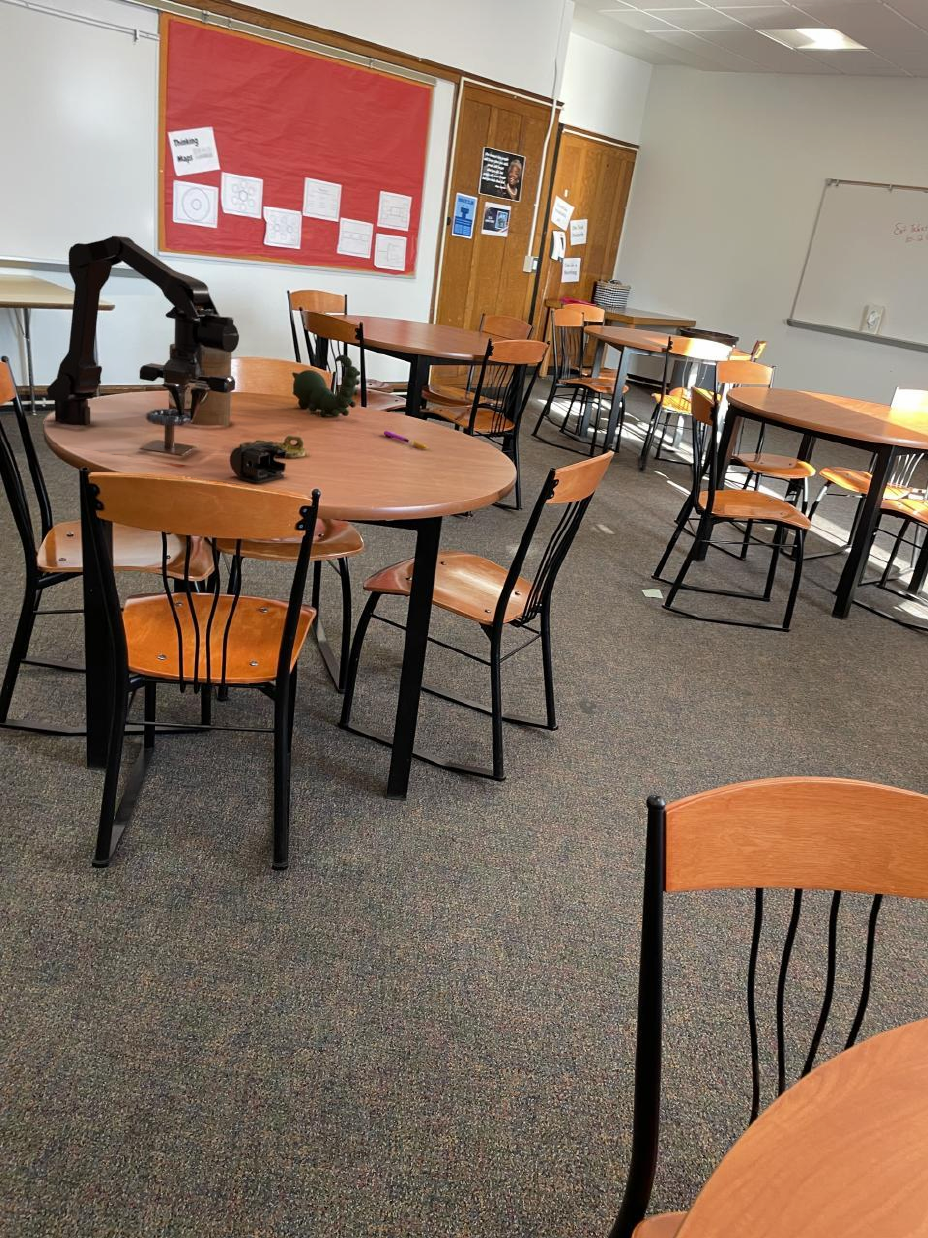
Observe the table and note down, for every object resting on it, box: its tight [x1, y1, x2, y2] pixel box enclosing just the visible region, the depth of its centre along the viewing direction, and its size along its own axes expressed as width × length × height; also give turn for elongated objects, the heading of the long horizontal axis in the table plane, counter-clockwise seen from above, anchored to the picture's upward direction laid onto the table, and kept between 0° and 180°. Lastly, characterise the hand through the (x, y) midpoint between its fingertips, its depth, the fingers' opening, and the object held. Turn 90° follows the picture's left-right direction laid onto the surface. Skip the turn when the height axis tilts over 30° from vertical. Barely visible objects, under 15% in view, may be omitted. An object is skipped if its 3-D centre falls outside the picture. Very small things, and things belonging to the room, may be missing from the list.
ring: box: [145, 408, 193, 427], centre depth 192 cm, size 10×10×2 cm
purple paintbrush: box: [383, 430, 429, 450], centre depth 239 cm, size 3×1×16 cm
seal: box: [238, 435, 306, 459], centre depth 207 cm, size 9×5×15 cm
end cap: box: [229, 441, 287, 485], centre depth 186 cm, size 10×7×7 cm
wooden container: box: [168, 343, 232, 427], centre depth 222 cm, size 15×15×22 cm
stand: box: [140, 425, 197, 457], centre depth 194 cm, size 9×9×7 cm
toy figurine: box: [291, 354, 361, 418], centre depth 254 cm, size 9×19×25 cm
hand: (186, 418), depth 192 cm, fingers closed on ring, 2 cm apart
